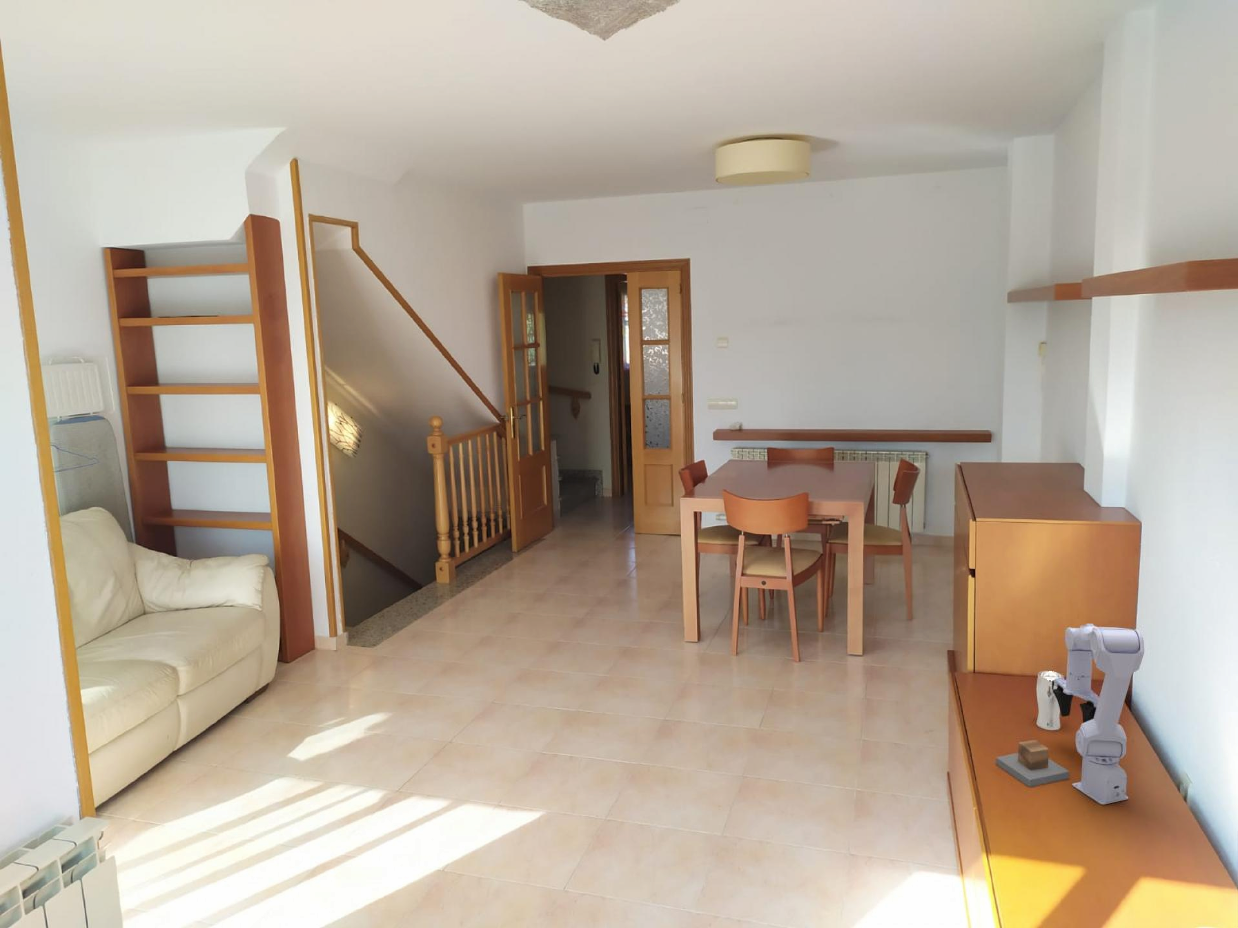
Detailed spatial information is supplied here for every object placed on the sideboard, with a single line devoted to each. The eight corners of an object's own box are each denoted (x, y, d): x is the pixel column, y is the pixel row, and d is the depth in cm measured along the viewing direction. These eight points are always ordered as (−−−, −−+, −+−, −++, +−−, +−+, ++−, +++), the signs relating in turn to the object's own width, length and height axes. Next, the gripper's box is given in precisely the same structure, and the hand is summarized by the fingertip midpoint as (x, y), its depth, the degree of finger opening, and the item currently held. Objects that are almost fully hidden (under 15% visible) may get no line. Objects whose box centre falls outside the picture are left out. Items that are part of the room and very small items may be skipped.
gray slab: (1068, 780, 223) (1069, 771, 223) (1029, 789, 220) (1029, 779, 219) (1034, 758, 234) (1034, 749, 234) (995, 766, 231) (996, 757, 231)
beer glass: (1059, 733, 246) (1062, 682, 244) (1032, 726, 250) (1034, 676, 248) (1064, 723, 252) (1067, 673, 249) (1037, 717, 256) (1040, 668, 253)
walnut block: (1047, 767, 225) (1048, 748, 224) (1030, 769, 224) (1031, 751, 223) (1034, 757, 230) (1035, 739, 229) (1017, 760, 229) (1018, 742, 228)
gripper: (1045, 664, 236) (1043, 712, 238) (1088, 685, 222) (1085, 736, 225) (1067, 661, 238) (1064, 708, 240) (1111, 681, 224) (1107, 732, 226)
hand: (1076, 721), depth 233 cm, fingers open, 7 cm apart
